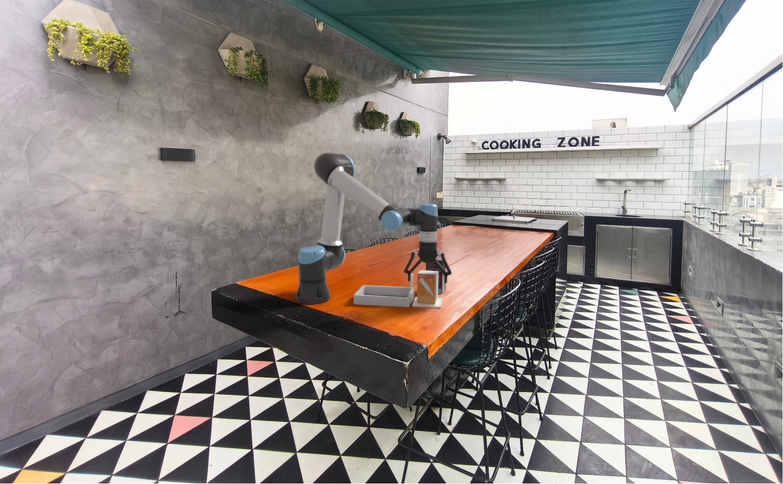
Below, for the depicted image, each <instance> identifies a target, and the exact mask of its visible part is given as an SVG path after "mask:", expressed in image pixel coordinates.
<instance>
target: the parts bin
mask: <svg viewBox="0 0 783 484" xmlns="http://www.w3.org/2000/svg"><path fill="white" fill-rule="evenodd" d="M414 299H415V287H414V286H413V289H412V290H410V286H388V285H371V284H370V285H367V284H363V285H362V286H361V287H360V288H359V289H358V290H357V291H356V292H355V293H354V294H353V304H354V305H362V306H381V307H395V308H396V307H400V308H410V307H411V306H412V305H411V304H412V303H413V301H414Z"/></svg>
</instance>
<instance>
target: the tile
mask: <svg viewBox="0 0 783 484" xmlns="http://www.w3.org/2000/svg"><path fill="white" fill-rule="evenodd" d="M442 303H443V297H438V300H437V302H436V304H428V303H417V296H414V298H413V301H412V303H411V304H412V305H411V307H413V308H414V307H415V308H416V307H417V308H431V309H433V308H435V309H442Z"/></svg>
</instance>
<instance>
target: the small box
mask: <svg viewBox="0 0 783 484" xmlns="http://www.w3.org/2000/svg"><path fill="white" fill-rule="evenodd" d="M416 277H417V278H416V279H417V280H416V281H417V283H416V285H417V287H416V297H417V303H428V304H436V302H437V300H438V298H439V293H438V271H426V270H424V269H423V270H421V269H420V270H419V271H418V272H417V275H416Z"/></svg>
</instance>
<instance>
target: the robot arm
mask: <svg viewBox="0 0 783 484" xmlns="http://www.w3.org/2000/svg"><path fill="white" fill-rule="evenodd" d="M313 169H314V170H313V171H314V173H315V175H316V176H317V177H318V178H319V180H321V181H322V182H323V184H324V185H325V186H326V190H325V201H324V208H323V209H324V210H323V218H322V220H323V221H322V229H321V238H319V239H318V240H317V244H315V245H310V246H304V247H302V248H300V249H299V250H298V254H297V255H298V257H297V262H298V279H299V283H298V287H297V291H296V294H295V299H296V302H297V303H299V304H304V305H313V304H315V305H317V304H322V303H326V302H328V301H330V299H331V291H330V289H329V286H328V282H327V274H326V272H329V271H331V270H335V269H337V268H338V267H340V266H342V265H343V263H344V261H345V260H346V250H345V249H344V247H343V244H344V243H343V241H342V240H341V232H342V222H343V216H344V215H343V212H344V207H345V206H344V205H345V196H347V197H348V198H349V199H350V200H352V201H353V202H354V203H356V204H357V205H358V206H360V207H362V208H363V209H364V210H365V211H366V212H368V213H369V214H371V215H372V216H373V217H375V218H376V219H378V221H380V222H381V223H380V224H381V225H382V227H383V228H384V229H385V230H387V231H396V230H398V229H401V228H405V227H418V228H419V229H418V232H419V233H418V240H419V242H418V252H417V251H414V250H413V251H412V252H411V253H410V259H409V260H408V262H407V264H406V266H405V268H404V269H403V273H404V274H407V282H408V283H409V287H410V290H412V289H413V287H414V273H413V272H414V271H415V270H416V268H418V267H419V265H420V264H421V263H424V264H426V263H427V262H428V263H432V262H433V263H434V264H435V265H436V266H437V267H438V268H439V270H440V271H441V272H442V273H443V274H444V275H443V277H442V291H444V283H446V284H447V283H448V276H451V275H452V273H453V272H452V270H451V268H450V266H449V263H448V261H447V258H446V257H445V252H443V251H442V252H438V241H437V240H438V217H439V215H438V214H439V213H438V212H439V211H438V206H437V204H435V203H420V205H419V207H417V208H409V207H407V208H406V207H394V206H393V205H391V204H390V203H388V201H386V200H384V199H383V198H382V197H381V196H379V195H377V193H375V192H373V191H372V190H371V189H370V188H368V187H367V186H365V185H364V184H363V183H362V182H360V181H359V180H357V179H356V178H354V176H355V173H356V165H355V162H354V161H353V159H352V158H351V157H350V156H349V155H345V154H342V153H332V152H324V153H321V154H319V155H318V156H317V157H316V159H315V160H314V164H313ZM417 256H418V258H419V259H418V260H417V261H416V263H415V264H414V265H412V267H411V268H410V266H411V264H413V260H414V259H415V258H417ZM436 258H442V261H443V263H444V265H445V267H446V271H445V270H444V268H443V267H442V266H441V265H440V263H439V262H438V261H437V259H436Z"/></svg>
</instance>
